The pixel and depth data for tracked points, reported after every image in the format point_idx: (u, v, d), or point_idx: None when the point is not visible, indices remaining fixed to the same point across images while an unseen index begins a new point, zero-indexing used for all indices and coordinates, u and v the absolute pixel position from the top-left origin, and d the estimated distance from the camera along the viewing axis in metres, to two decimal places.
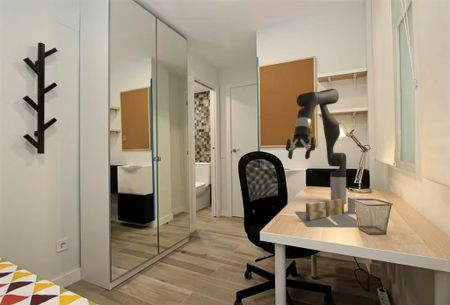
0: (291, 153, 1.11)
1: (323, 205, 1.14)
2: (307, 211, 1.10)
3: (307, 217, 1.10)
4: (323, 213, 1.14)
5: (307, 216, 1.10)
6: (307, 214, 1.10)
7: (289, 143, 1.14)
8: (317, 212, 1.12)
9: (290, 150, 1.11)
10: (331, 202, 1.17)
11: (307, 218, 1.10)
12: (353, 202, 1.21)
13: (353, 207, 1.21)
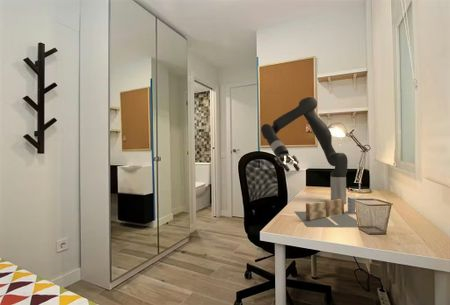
0: (295, 166, 1.25)
1: (323, 205, 1.14)
2: (307, 211, 1.10)
3: (307, 217, 1.10)
4: (323, 213, 1.14)
5: (307, 216, 1.10)
6: (307, 214, 1.10)
7: None
8: (317, 212, 1.12)
9: (293, 165, 1.27)
10: (331, 202, 1.17)
11: (307, 218, 1.10)
12: (353, 202, 1.21)
13: (353, 207, 1.21)
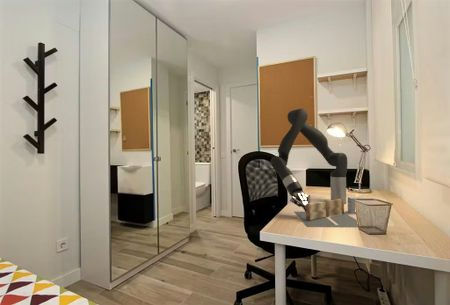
0: None
1: (323, 205, 1.14)
2: (307, 211, 1.10)
3: (307, 217, 1.10)
4: (323, 213, 1.14)
5: (307, 216, 1.10)
6: (307, 214, 1.10)
7: (306, 199, 1.19)
8: (317, 212, 1.12)
9: None
10: (331, 202, 1.17)
11: (307, 218, 1.10)
12: (353, 202, 1.21)
13: (353, 207, 1.21)
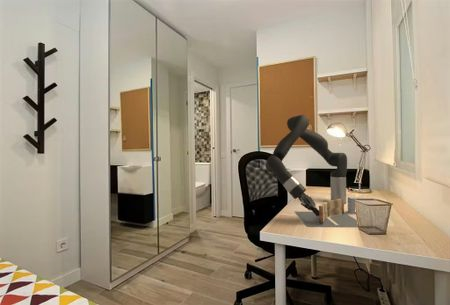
0: None
1: (326, 205, 1.13)
2: (321, 214, 1.05)
3: (321, 220, 1.05)
4: (326, 213, 1.13)
5: (321, 219, 1.05)
6: (321, 217, 1.05)
7: None
8: (324, 213, 1.10)
9: None
10: (331, 202, 1.17)
11: (321, 221, 1.05)
12: (353, 202, 1.21)
13: (353, 207, 1.21)
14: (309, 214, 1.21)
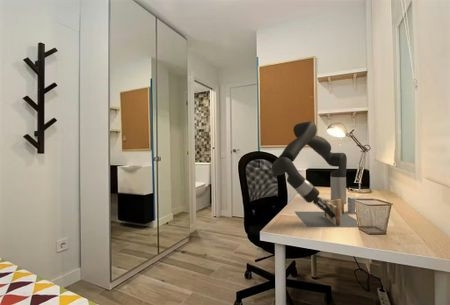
0: None
1: None
2: (339, 215, 1.02)
3: (339, 221, 1.02)
4: None
5: (339, 220, 1.02)
6: (339, 218, 1.02)
7: None
8: None
9: (325, 211, 1.06)
10: (331, 202, 1.17)
11: (339, 223, 1.02)
12: (353, 202, 1.21)
13: (353, 207, 1.21)
14: (309, 214, 1.21)
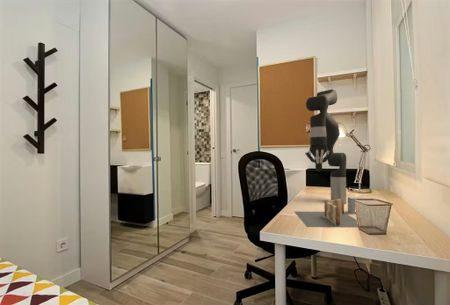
0: None
1: None
2: (339, 215, 1.02)
3: (339, 221, 1.02)
4: None
5: (339, 220, 1.02)
6: (339, 218, 1.02)
7: None
8: None
9: (318, 162, 1.10)
10: (331, 202, 1.17)
11: (339, 223, 1.02)
12: (353, 202, 1.21)
13: (353, 207, 1.21)
14: (309, 214, 1.21)
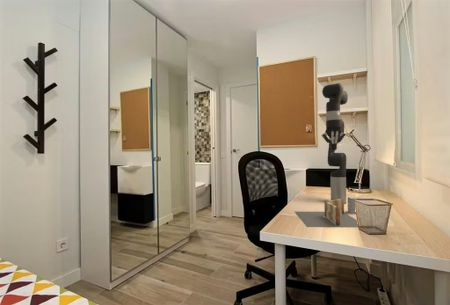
0: None
1: None
2: (339, 215, 1.02)
3: (339, 221, 1.02)
4: None
5: (339, 220, 1.02)
6: (339, 218, 1.02)
7: None
8: None
9: (333, 143, 1.24)
10: (331, 202, 1.17)
11: (339, 223, 1.02)
12: (353, 202, 1.21)
13: (353, 207, 1.21)
14: (309, 214, 1.21)
